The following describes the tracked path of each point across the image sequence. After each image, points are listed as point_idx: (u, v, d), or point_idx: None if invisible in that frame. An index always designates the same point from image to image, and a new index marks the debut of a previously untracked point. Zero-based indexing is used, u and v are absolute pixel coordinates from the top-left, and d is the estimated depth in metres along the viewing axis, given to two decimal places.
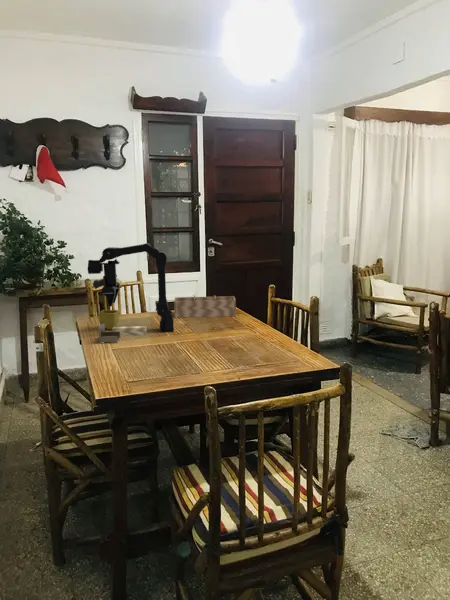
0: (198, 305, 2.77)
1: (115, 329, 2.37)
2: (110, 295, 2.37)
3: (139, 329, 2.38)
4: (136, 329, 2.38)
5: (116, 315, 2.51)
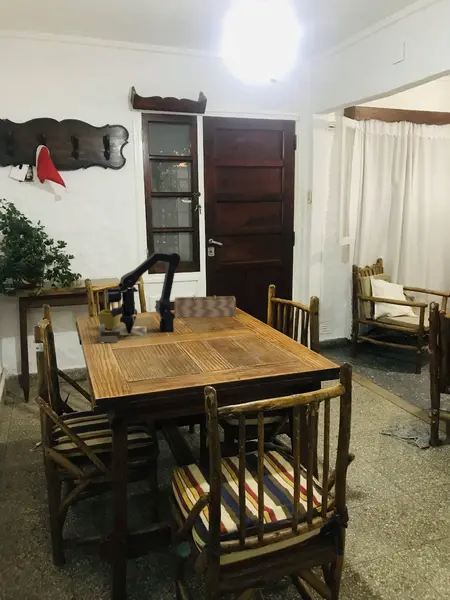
0: (198, 305, 2.77)
1: (115, 328, 2.38)
2: (129, 323, 2.36)
3: (138, 329, 2.38)
4: (135, 329, 2.38)
5: None
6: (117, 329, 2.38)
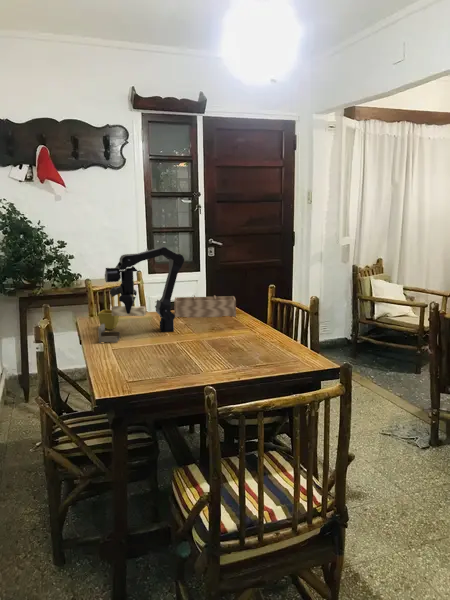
0: (198, 305, 2.77)
1: (114, 308, 2.37)
2: (128, 302, 2.34)
3: (137, 309, 2.36)
4: (134, 309, 2.36)
5: None
6: (116, 309, 2.37)
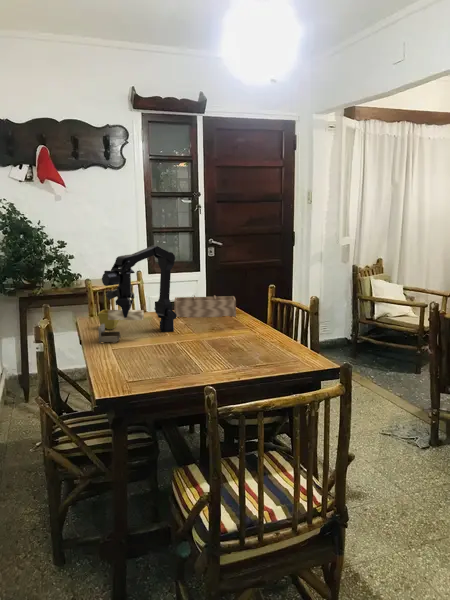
0: (198, 305, 2.77)
1: (110, 312, 2.27)
2: (125, 306, 2.24)
3: (135, 313, 2.26)
4: (131, 313, 2.26)
5: None
6: (113, 313, 2.27)
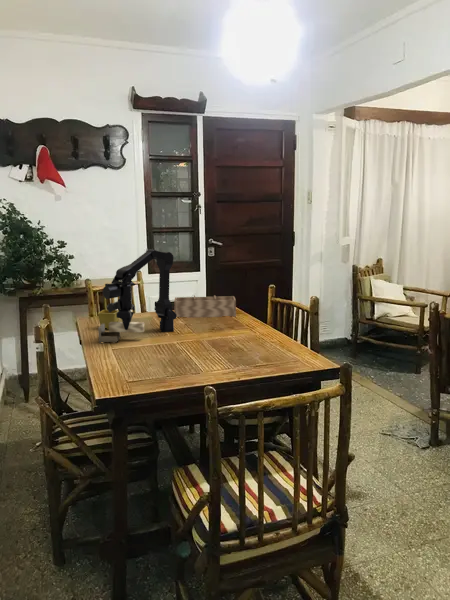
0: (198, 305, 2.77)
1: (111, 324, 2.28)
2: (126, 318, 2.25)
3: (136, 325, 2.27)
4: (132, 325, 2.27)
5: (116, 315, 2.51)
6: (113, 325, 2.28)
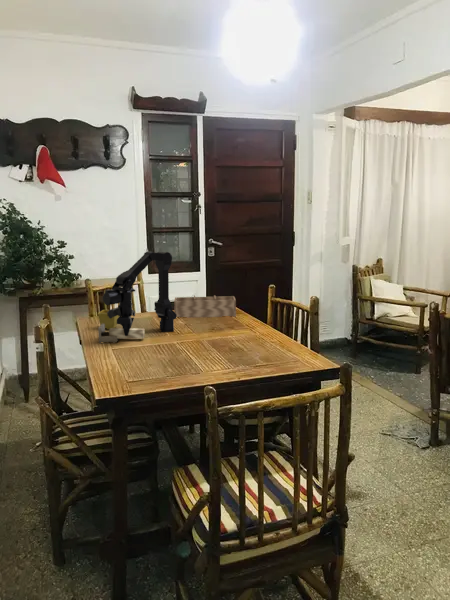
0: (198, 305, 2.77)
1: (111, 330, 2.28)
2: (126, 324, 2.26)
3: (136, 331, 2.28)
4: (133, 331, 2.28)
5: None
6: (114, 331, 2.28)
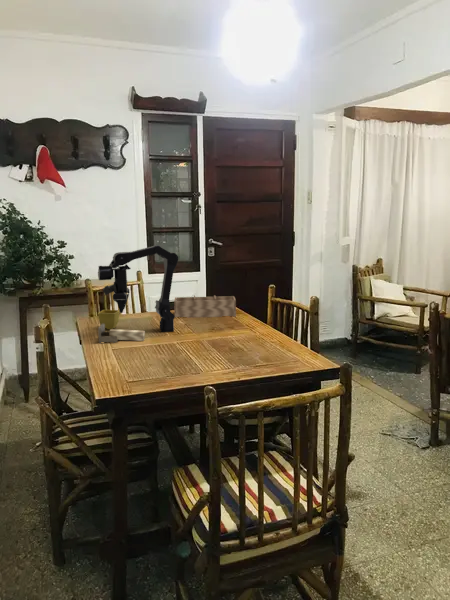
0: (198, 305, 2.77)
1: (112, 331, 2.28)
2: (121, 301, 2.31)
3: (136, 333, 2.28)
4: (133, 333, 2.28)
5: (116, 315, 2.51)
6: (114, 332, 2.28)
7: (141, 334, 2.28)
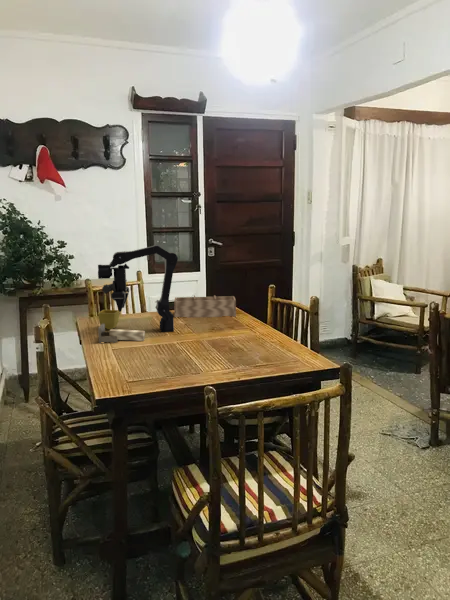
0: (198, 305, 2.77)
1: (112, 331, 2.28)
2: (120, 300, 2.34)
3: (136, 333, 2.28)
4: (133, 333, 2.28)
5: (116, 315, 2.51)
6: (114, 332, 2.28)
7: (141, 334, 2.28)
